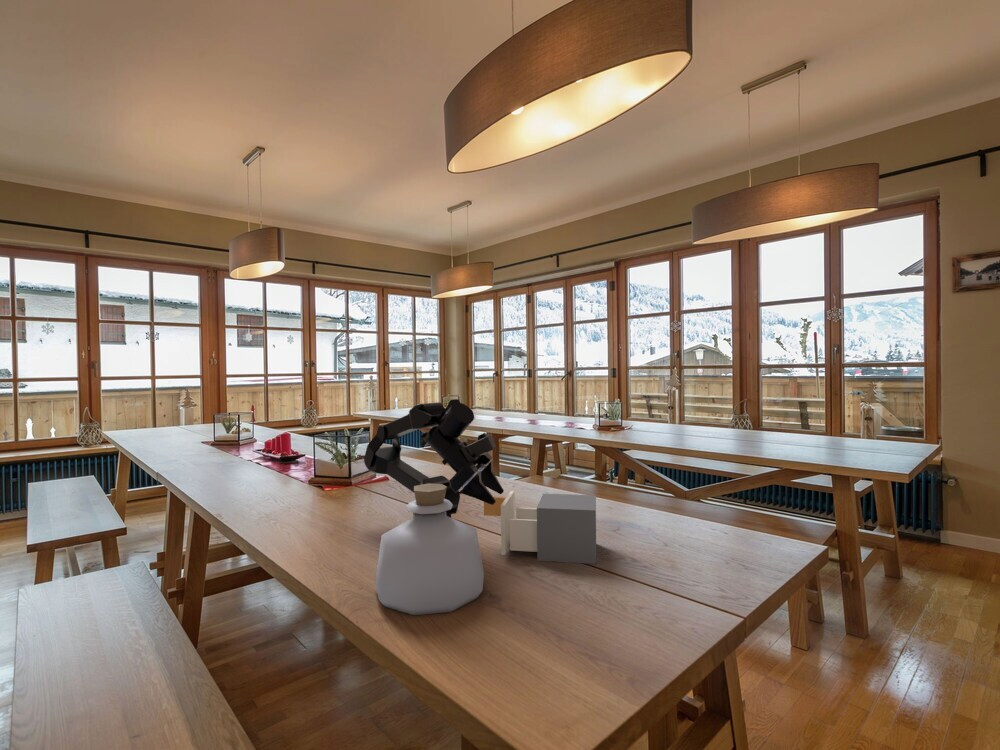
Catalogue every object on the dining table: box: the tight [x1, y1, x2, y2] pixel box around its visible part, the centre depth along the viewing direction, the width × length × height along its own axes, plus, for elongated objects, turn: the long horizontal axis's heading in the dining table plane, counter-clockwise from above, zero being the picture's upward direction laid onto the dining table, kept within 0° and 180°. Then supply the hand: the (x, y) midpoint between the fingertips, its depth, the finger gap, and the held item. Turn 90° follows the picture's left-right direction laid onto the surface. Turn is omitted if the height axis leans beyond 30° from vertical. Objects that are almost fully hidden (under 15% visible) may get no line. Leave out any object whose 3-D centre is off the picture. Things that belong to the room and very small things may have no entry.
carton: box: [536, 493, 597, 565], centre depth 109 cm, size 12×12×11 cm
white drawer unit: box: [483, 490, 537, 556], centre depth 110 cm, size 17×13×10 cm
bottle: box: [374, 483, 485, 616], centre depth 91 cm, size 20×20×19 cm
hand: (498, 497), depth 111 cm, fingers open, 9 cm apart
